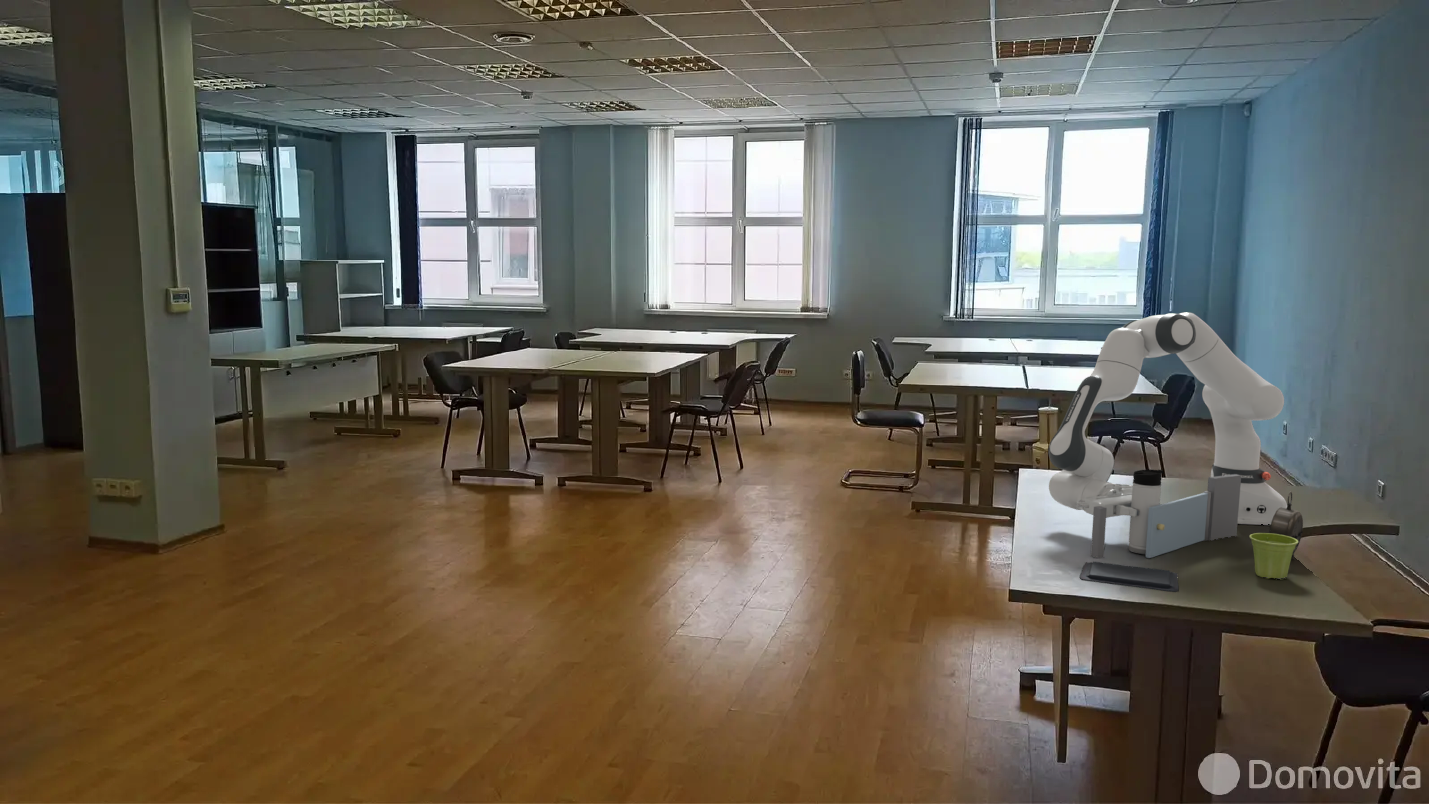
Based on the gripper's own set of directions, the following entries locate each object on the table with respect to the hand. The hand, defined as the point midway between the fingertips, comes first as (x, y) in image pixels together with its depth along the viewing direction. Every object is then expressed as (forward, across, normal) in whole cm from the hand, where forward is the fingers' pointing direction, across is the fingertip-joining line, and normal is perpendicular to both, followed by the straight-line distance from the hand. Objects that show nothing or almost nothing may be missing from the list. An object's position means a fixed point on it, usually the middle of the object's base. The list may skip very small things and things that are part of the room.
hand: (1148, 511), depth 234 cm
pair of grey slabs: (-3, +11, +10) cm, 15 cm away
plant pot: (+24, +11, +10) cm, 29 cm away
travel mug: (-1, 0, +10) cm, 10 cm away
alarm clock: (+16, +27, +11) cm, 34 cm away
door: (+1, +11, +10) cm, 15 cm away
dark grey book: (+12, -19, +11) cm, 25 cm away
